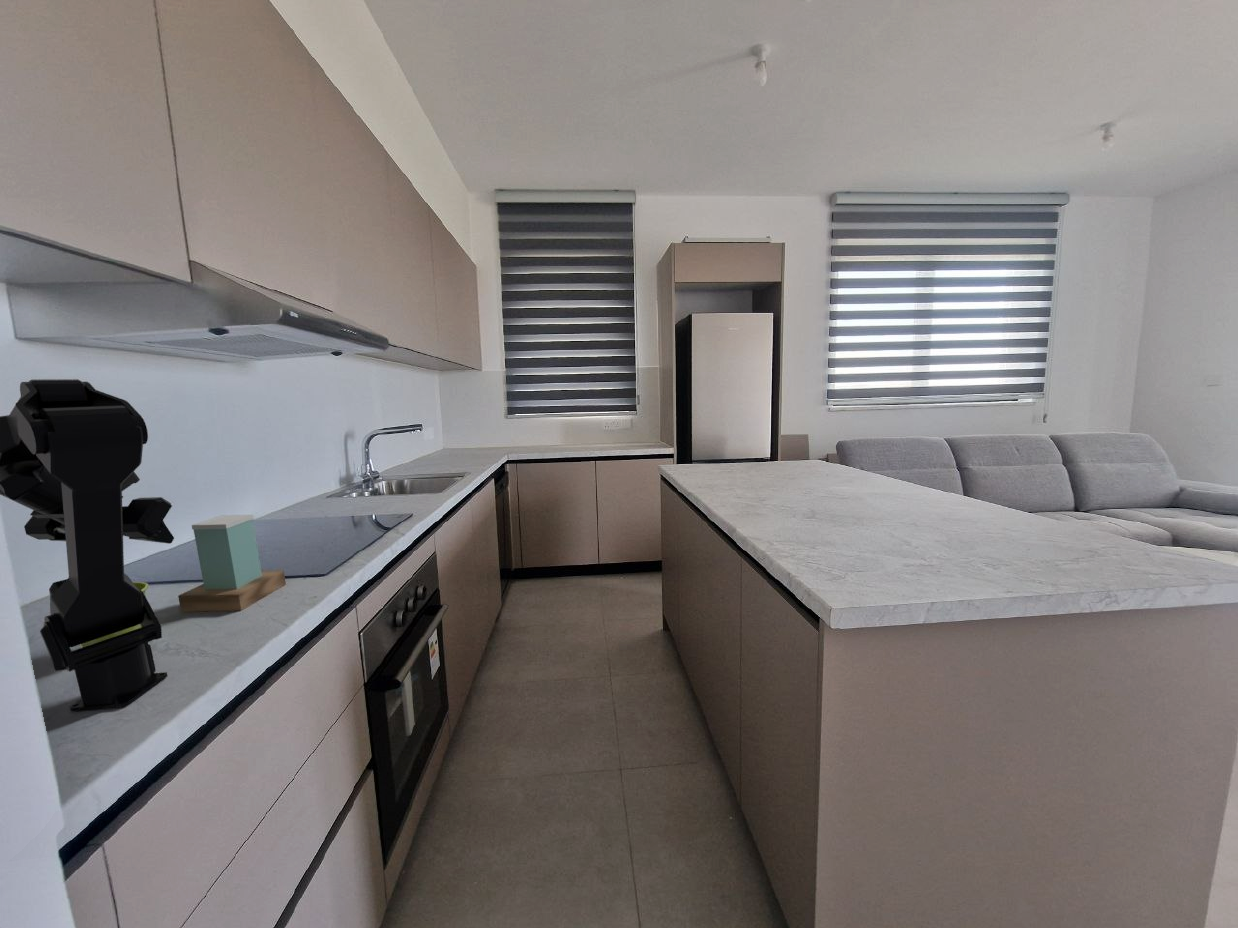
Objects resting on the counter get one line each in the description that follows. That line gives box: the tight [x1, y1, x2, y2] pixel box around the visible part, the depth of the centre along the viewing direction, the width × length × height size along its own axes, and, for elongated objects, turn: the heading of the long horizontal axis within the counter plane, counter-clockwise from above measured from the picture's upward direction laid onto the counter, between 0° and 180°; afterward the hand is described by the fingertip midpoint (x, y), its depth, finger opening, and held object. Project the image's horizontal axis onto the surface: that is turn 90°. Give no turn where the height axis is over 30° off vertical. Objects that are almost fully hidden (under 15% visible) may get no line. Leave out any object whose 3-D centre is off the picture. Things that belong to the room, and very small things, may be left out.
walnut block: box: [177, 569, 287, 612], centre depth 88 cm, size 11×11×3 cm
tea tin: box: [191, 514, 262, 590], centre depth 87 cm, size 6×6×12 cm
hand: (145, 541), depth 80 cm, fingers open, 9 cm apart
